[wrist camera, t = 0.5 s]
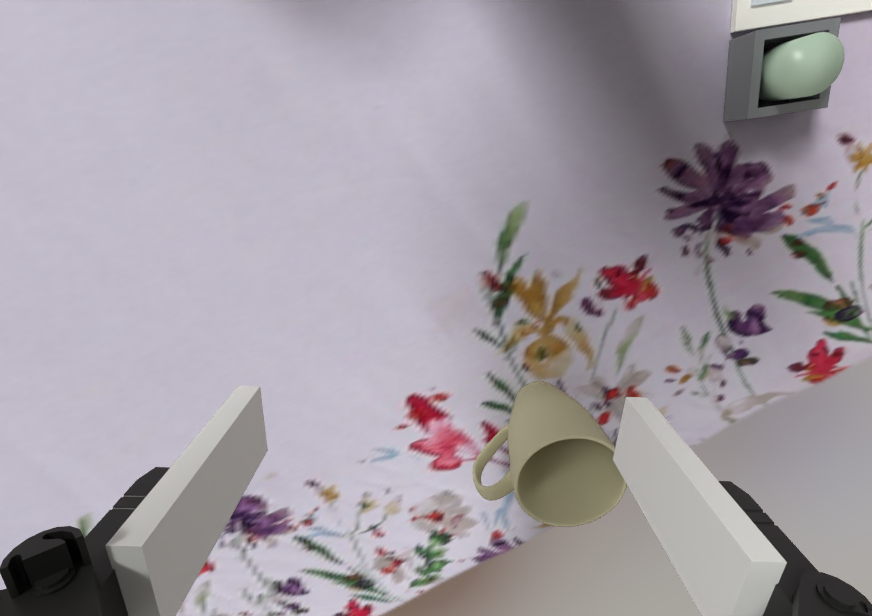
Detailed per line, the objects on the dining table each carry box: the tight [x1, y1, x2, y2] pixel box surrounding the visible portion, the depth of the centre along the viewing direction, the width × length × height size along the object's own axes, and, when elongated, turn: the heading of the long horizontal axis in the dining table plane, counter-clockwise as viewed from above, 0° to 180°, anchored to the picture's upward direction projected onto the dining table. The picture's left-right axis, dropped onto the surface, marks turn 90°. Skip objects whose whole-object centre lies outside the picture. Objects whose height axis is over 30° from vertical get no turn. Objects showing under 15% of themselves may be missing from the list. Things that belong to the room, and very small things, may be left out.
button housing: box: [723, 17, 841, 122], centre depth 34 cm, size 6×6×3 cm
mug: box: [473, 381, 627, 527], centre depth 40 cm, size 11×10×12 cm
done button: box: [759, 32, 844, 101], centre depth 32 cm, size 4×4×4 cm
